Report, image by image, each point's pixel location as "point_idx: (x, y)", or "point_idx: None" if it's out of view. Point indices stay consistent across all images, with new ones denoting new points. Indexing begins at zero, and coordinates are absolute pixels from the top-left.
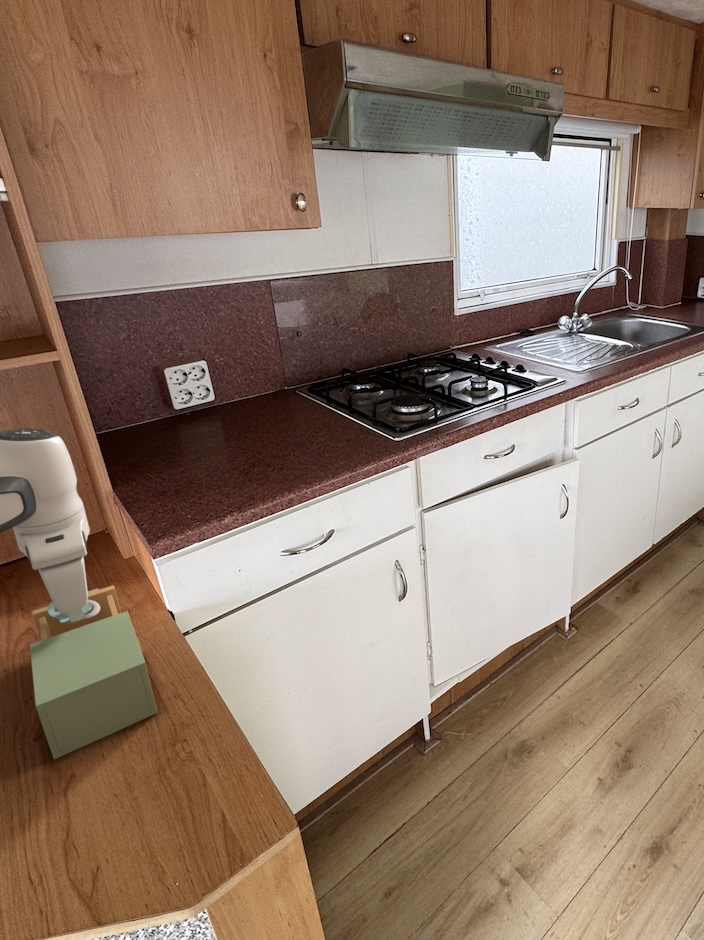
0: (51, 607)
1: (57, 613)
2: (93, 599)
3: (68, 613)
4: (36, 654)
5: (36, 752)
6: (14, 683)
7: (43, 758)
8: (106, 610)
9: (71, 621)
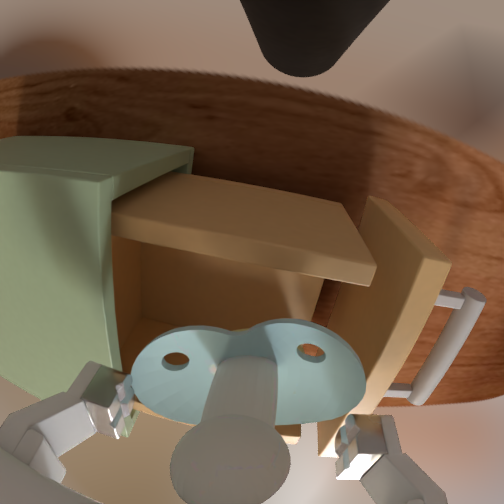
0: (334, 349)
1: (283, 342)
2: None
3: (60, 393)
4: (25, 192)
5: (42, 111)
6: (312, 99)
7: (26, 121)
8: None
9: (88, 362)
